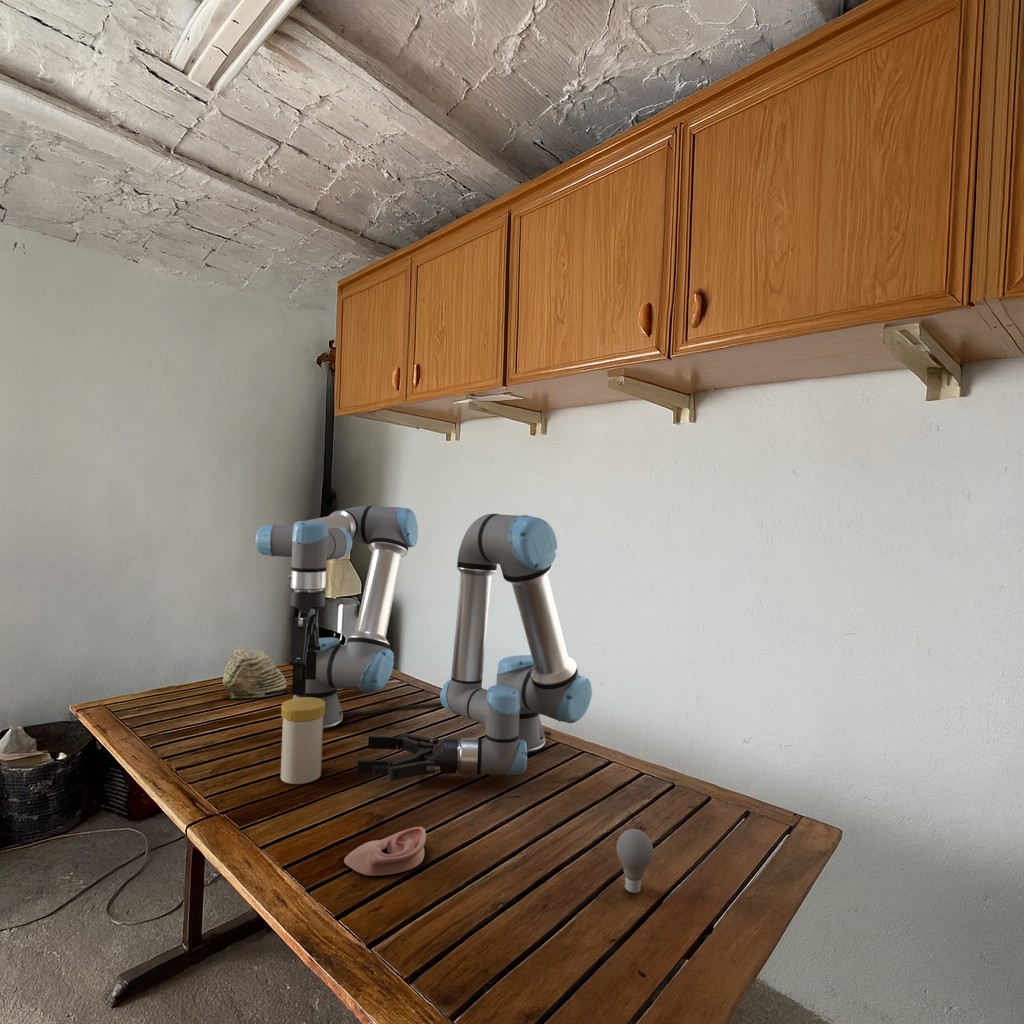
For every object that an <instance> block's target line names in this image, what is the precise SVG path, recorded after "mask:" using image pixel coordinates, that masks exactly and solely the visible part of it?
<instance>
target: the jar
mask: <svg viewBox="0 0 1024 1024" xmlns="http://www.w3.org/2000/svg"><path fill="white" fill-rule="evenodd" d="M323 736H324V731H323V716H322V717H320V718H318V719H315V720H310V721H289V720H286V719H284V718H282V726H281V751H280V752H281V753H280V775H279V777H280V780H281V781H282V782H284V783H286V784H290V785H304V784H308V783H312V782H315V781H316V780H318V779H319V778H320V777H321V776H322V763H323V741H324V740H323V739H324V737H323Z"/></svg>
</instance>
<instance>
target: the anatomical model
mask: <svg viewBox="0 0 1024 1024" xmlns="http://www.w3.org/2000/svg"><path fill="white" fill-rule="evenodd" d="M426 839H427V834H426V829H425V827H423V826H415V827H411V828H407V829H404V830H401V831H398V832H396V833H394V834H392V835H389V836H387V837H385V838H383V839H376V840H370V841H368V842H365V843H363V844H361V845H359V846H357V847H356V848H355V849H353V850H352V851H350V852H349V853H348V854H347V855H346V856H345V857H344V859H343V863H344V865H346V866H347V867H348V868H350V869H352V870H353V871H355V872H356V873H359V874H361V875H364V876H369V877H377V876H389V875H394V874H395V875H396V874H399V873H403V872H407V871H409V870H412V869H414V868H416V867H418V866H419V865H421V863H422V862H423V860H424V859H425V848H424V846H425V844H426Z"/></svg>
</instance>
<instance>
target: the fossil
mask: <svg viewBox="0 0 1024 1024" xmlns="http://www.w3.org/2000/svg"><path fill="white" fill-rule="evenodd" d="M222 676H223V677H222V685H223V687H224V688H225V690H226V691H228V693H229V698H230V699H250V698H264V697H271V696H275V695H281V694H284V693H285V691H286V689H287V687H288V686H287V680H286V678H285V676H284V674H283V673H282V672H281V669H279V668H278V667H277V665H276V663H275V662H274V660H273V659H272V658H271V657H270V656H269V655H268V654H267V653H266V652H265V650H264V649H263V648H260V647H258V648H251V647H247V646H246V647H245V646H238V647H237V648H236V649H235V650H233V651H232V653H231V656H230V657H229V659H228V660H227V663H226V666H225V668H224V671H223V675H222Z"/></svg>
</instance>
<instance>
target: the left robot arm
mask: <svg viewBox="0 0 1024 1024" xmlns="http://www.w3.org/2000/svg"><path fill="white" fill-rule="evenodd" d="M418 525H419V524H418V520H417V516H416V514H415V512H414V511H413V510H412V509H411V508H408V507H400V506H375V505H359V506H353V507H348V508H345V509H341V510H335V511H333V512H332V513H330V514H329V515H328V516H323V517H317V518H314V519H307V520H297V521H296V522H293V523H288V524H281V525H278V524H277V525H276V524H268V525H267V524H264V525H261V526H260V528H259V529H257V532H256V535H255V542H254V543H255V548H256V550H257V552H258V553H259V554H261V555H263V556H268V557H269V556H270V557H272V558H274V557H286V558H291V567H290V568H291V574H288V579H291V580H290V588H291V591H290V593H289V594H290V595H289V606H290V607H291V608H292V609H297V610H299V611H298V615H296V617H295V618H294V621H293V622H294V629H293V638H292V648H291V658H290V661H288V666H292V680H291V682H292V683H291V695H292V696H293V697H292V699H294V698H301V697H314V698H319V699H322V700H324V701H325V714H324V715H323V732H325V731H329V730H332V729H335V728H337V727H339V726H340V725H342V723H343V722H344V716H360V715H362V716H363V715H364V716H365V715H372V714H373V715H374V714H378V713H383V712H387V711H388V712H389V711H394V710H402V709H404V710H405V709H418V708H429V707H438V706H442V704H441V701H438V702H431V703H421V704H420V703H419V704H408V705H393V706H389V707H383V708H379V709H374V710H366V711H365V710H363V711H343V709H342V706H341V702H340V699H339V695H338V689H339V690H340V689H341V690H351V691H359V692H363V693H366V692H367V693H368V692H370V693H371V692H372V693H377V692H379V691H381V690H382V689H384V687H385V686H386V685H387V684H388V682H389V680H390V678H391V675H392V673H393V670H394V663H395V661H394V660H395V655H394V652H393V651H392V650H391V648H390V645H391V644H390V642H389V641H388V640H387V637H386V636H387V632H388V627H389V621H390V617H391V611H392V608H393V607H392V606H393V602H394V596H395V592H396V587H397V586H396V585H397V582H398V576H399V572H400V566H401V561H402V558H404V557H406V556H407V555H408V553H409V549H410V548H414V547H416V546H417V543H418V539H419V526H418ZM353 543H354V544H362V545H368V550H370V552H371V557H370V561H369V565H368V570H367V574H366V580H365V585H364V589H363V593H362V598H361V603H360V606H359V607H360V608H359V612H358V616H357V620H356V625H355V630H354V632H353V634H351V635H349V636H348V637H347V641H346V644H340V643H341V641H340V639H339V638H338V637H334V636H333V637H332V636H331V637H320V636H319V611H320V610H319V609H322V608H324V607H325V606H326V591H325V590H324V589H325V588H326V587H327V561H333V560H339V559H342V558H344V557H346V556H347V555H349V553H351V551H352V548H353Z"/></svg>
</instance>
